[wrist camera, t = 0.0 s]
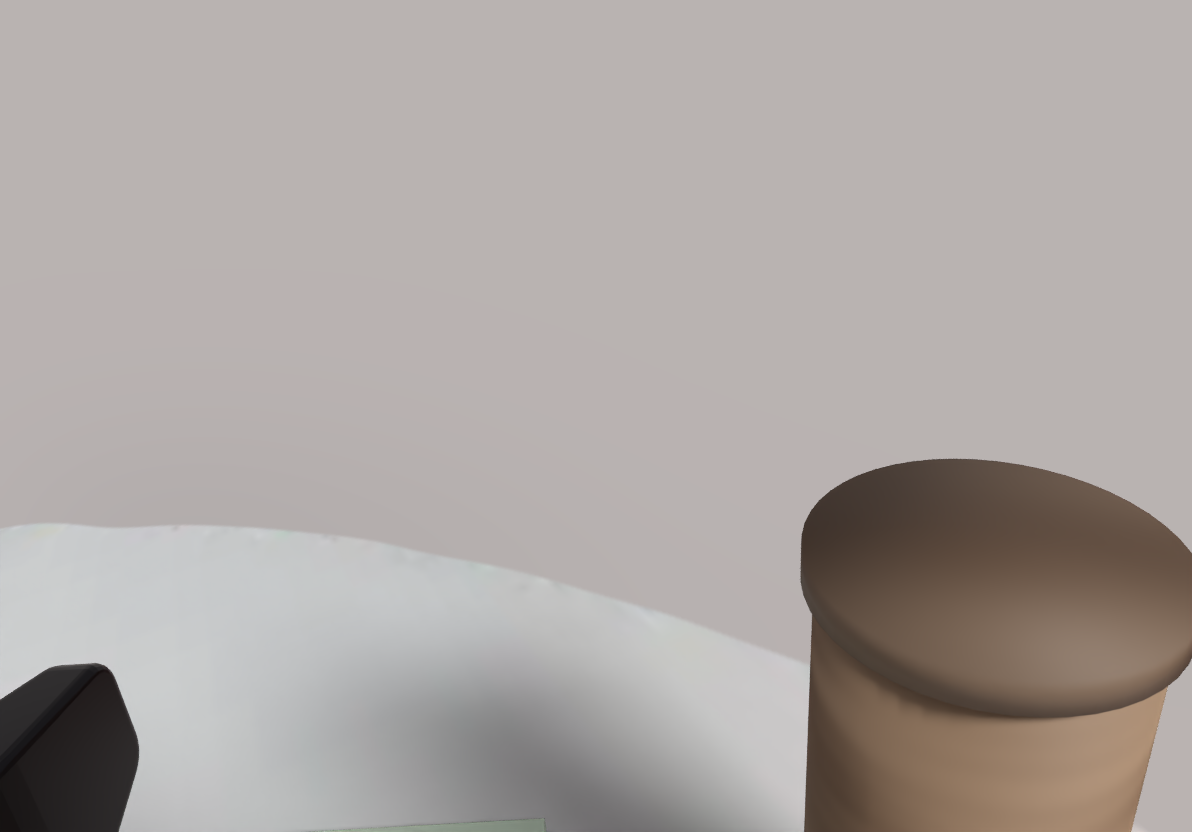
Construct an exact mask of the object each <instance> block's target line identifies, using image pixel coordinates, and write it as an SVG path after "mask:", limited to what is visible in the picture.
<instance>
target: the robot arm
mask: <svg viewBox="0 0 1192 832" xmlns="http://www.w3.org/2000/svg"><path fill="white" fill-rule="evenodd" d="M138 760H139V744H138V739H137V735H136V732H135V729H134V727H133V724H132V721H131V719H130V716H129V714H128V711H127V708H126V706H125V703H124V700H123V698H122V695H121V692H120V690H119V687H118V685H117V682H116V679H115V677H114V675H113V673H112V672H111V671H110V670H109V669H108V668H107V667H106V666H104V665H101V664H97V663H91V664H75V665H60V666H55V667H51V668H48V669H47V670H45V671H43V672H42V673H40V674H39V675H37V676H36V677H34V678H33V679H31V680H29V681H28V682H26V683H25V684H23V685H22V686H20V687H19V688H17V689H16V690H14V691H13V692H11V693H10V694H8V695H7V696H5V697H4V698H2V699H1V700H0V832H119V828H120V825H121V822H122V818H123V815H124V812H125V808H126V805H127V802H128V798H129V795H130V792H131V788H132V785H133V781H134V778H135V775H136V771H137V767H138Z"/></svg>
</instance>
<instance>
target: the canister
mask: <svg viewBox="0 0 1192 832" xmlns="http://www.w3.org/2000/svg"><path fill="white" fill-rule="evenodd" d="M801 586H802V590H803V595H804V598H805V600H806V602H807V605H808V607H809V609H810V611H811V613H812V635H811V662H810V689H809V716H808V743H807V770H806V797H805V824H804V832H1131V830H1132V826H1133V822H1134V818H1135V814H1136V810H1137V806H1138V802H1139V798H1140V794H1141V790H1142V786H1143V782H1144V778H1145V774H1146V771H1147V767H1148V762H1149V759H1150V755H1151V751H1152V747H1153V743H1154V739H1155V735H1156V731H1157V727H1158V723H1159V719H1160V715H1161V711H1162V707H1163V703H1164V699H1165V695H1166V692H1167V687H1168V685H1170V684H1171V683H1172V682H1173V681H1175V680H1176V679H1177V678H1178V677H1179V676H1180V675H1181V673H1182V672H1183V671H1184V670H1185V668H1186V667H1187V666H1188V664H1189V663H1190V661H1191V659H1192V553H1191V552H1190V551H1189V549H1188V548H1187V547H1186V546H1185V545H1184V543H1183V542H1182V541H1181V540H1180V539H1179V538H1178V537H1177V536H1176V535H1175V534H1174V533H1173V532H1172V531H1170V530H1169V529H1168V528H1167V527H1166V526H1165V525H1163V524H1162V523H1161V522H1160V521H1158V520H1157V519H1156V518H1154V517H1153V516H1151V515H1150V514H1149V513H1147V512H1145V511H1144V510H1142V509H1140V508H1139V507H1137V506H1135V505H1134V504H1132V503H1131V502H1129V501H1127V500H1125V499H1123V498H1121V497H1119V496H1117V495H1115V494H1113V493H1111V492H1109V491H1106V490H1104V489H1101V488H1099V487H1096V486H1094V485H1092V484H1089V483H1086V482H1083V481H1080V480H1078V479H1075V478H1072V477H1069V476H1066V475H1061V474H1058V473H1054V472H1051V471H1047V470H1043V469H1039V468H1034V467H1029V466H1024V465H1019V464H1011V463H1005V462H998V461H987V460H975V459H936V460H935V459H933V460H923V461H913V462H907V463H901V464H895V465H891V466H887V467H883V468H879V469H875V470H872V471H869V472H866V473H864V474H861V475H858V476H856V477H854V478H852V479H850V480H848V481H846V482H844V483H842V484H841V485H839V486H837V487H836V488H834V489H833V490H831V491H830V492H829V493H827V494H826V495H825V496H824V497H823V498H822V499H821V500H819V502H818V503H817V504H816V505H815V506H814V508H813V509H812V510H811V512H810V514H809V515H808V518H807V520H806V522H805V524H804V528H803V532H802V541H801Z"/></svg>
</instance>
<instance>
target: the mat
mask: <svg viewBox="0 0 1192 832" xmlns="http://www.w3.org/2000/svg"><path fill="white" fill-rule="evenodd" d="M314 832H546V825H545V818H541V819H523V820H506V821H488V822H471V823H454V824H436V825H419V826H401V827H384V828H366V829H349V830H332V831H314Z"/></svg>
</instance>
